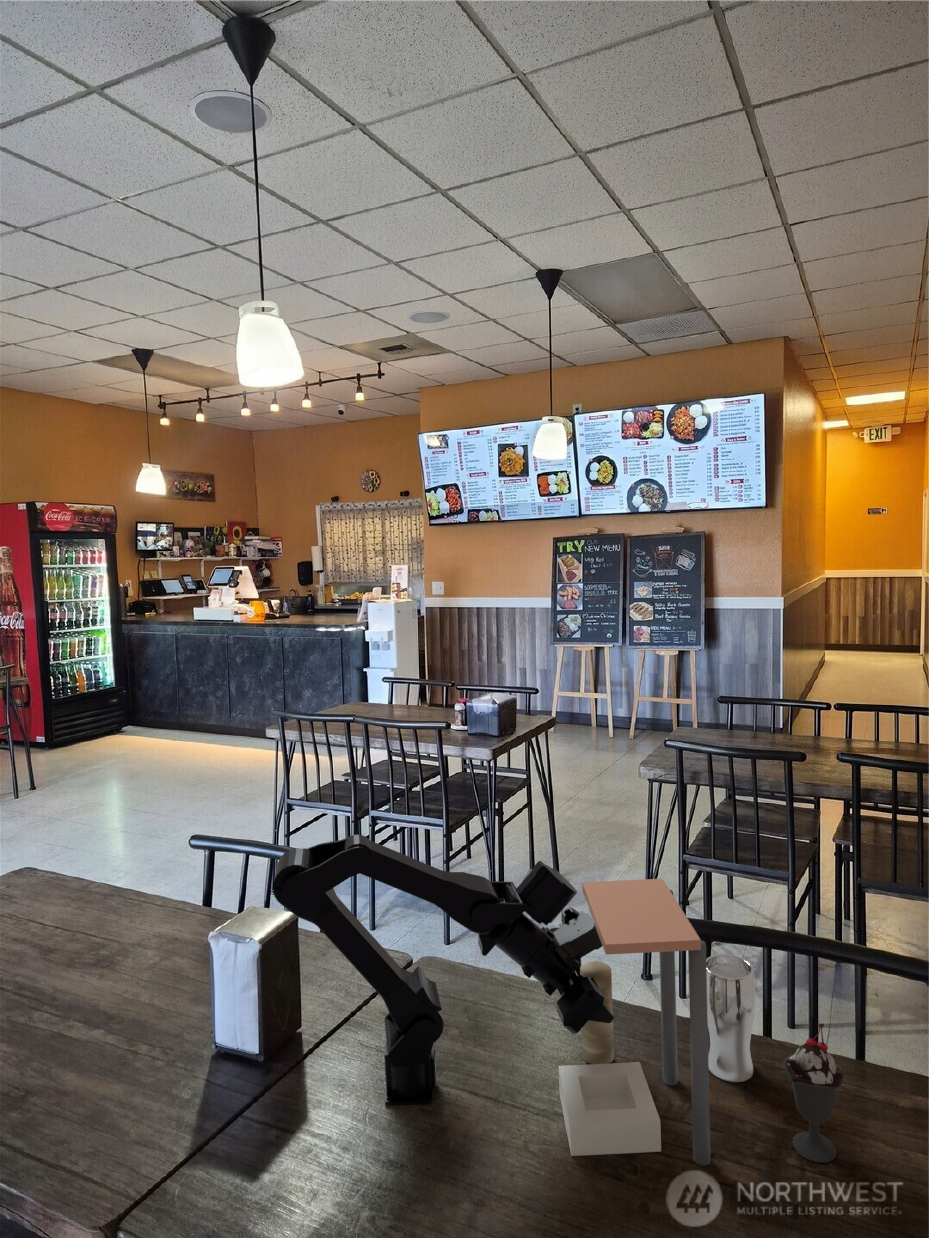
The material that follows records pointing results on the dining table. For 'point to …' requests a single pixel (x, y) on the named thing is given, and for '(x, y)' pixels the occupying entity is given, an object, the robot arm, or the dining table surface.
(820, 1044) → the sundae
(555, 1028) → the dining table surface
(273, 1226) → the dining table surface
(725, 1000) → the beer glass
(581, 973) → the dowel
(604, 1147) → the table parts
